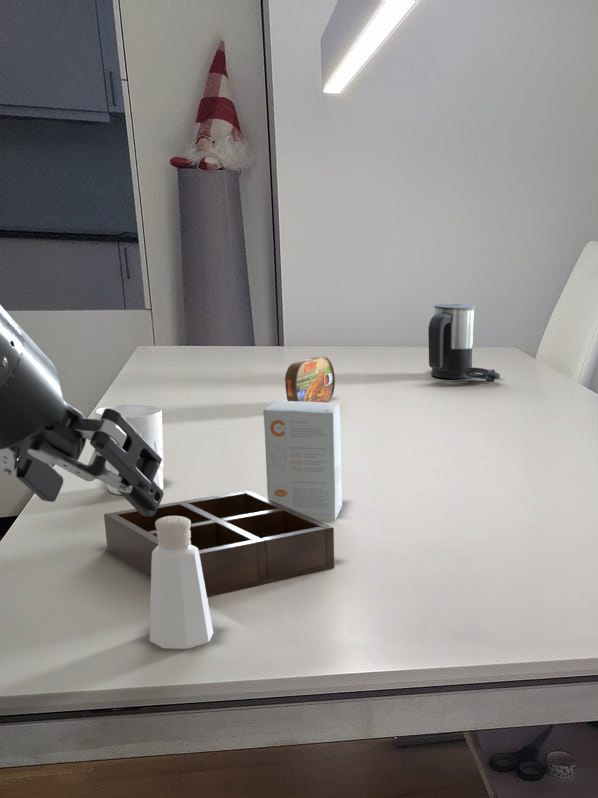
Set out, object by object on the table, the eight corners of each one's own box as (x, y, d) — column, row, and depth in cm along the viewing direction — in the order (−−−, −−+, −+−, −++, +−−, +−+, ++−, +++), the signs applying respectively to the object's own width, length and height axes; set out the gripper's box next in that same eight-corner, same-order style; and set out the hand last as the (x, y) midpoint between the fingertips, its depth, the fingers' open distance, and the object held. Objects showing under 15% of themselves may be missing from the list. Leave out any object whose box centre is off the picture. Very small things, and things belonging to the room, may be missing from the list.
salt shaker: (136, 649, 87) (123, 523, 83) (174, 626, 92) (164, 506, 87) (190, 660, 85) (181, 533, 81) (227, 637, 90) (220, 515, 86)
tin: (298, 414, 181) (297, 364, 177) (282, 412, 181) (281, 363, 178) (336, 400, 194) (336, 354, 190) (321, 398, 195) (320, 352, 191)
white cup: (157, 498, 128) (150, 418, 125) (94, 496, 128) (85, 415, 125) (175, 482, 136) (169, 406, 132) (115, 480, 136) (107, 403, 132)
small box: (342, 507, 128) (341, 402, 123) (335, 522, 123) (333, 412, 117) (277, 504, 128) (273, 399, 123) (267, 519, 122) (262, 409, 117)
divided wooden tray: (184, 602, 97) (180, 557, 95) (107, 555, 108) (103, 513, 107) (334, 568, 108) (334, 527, 106) (250, 528, 119) (248, 490, 117)
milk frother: (435, 371, 230) (436, 302, 225) (505, 376, 229) (508, 306, 223) (423, 381, 217) (424, 308, 212) (497, 386, 216) (500, 312, 210)
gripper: (87, 315, 60) (206, 466, 75) (-107, 297, 64) (43, 444, 79) (35, 422, 58) (169, 556, 72) (-163, 397, 62) (2, 529, 76)
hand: (103, 498), depth 75 cm, fingers open, 8 cm apart
